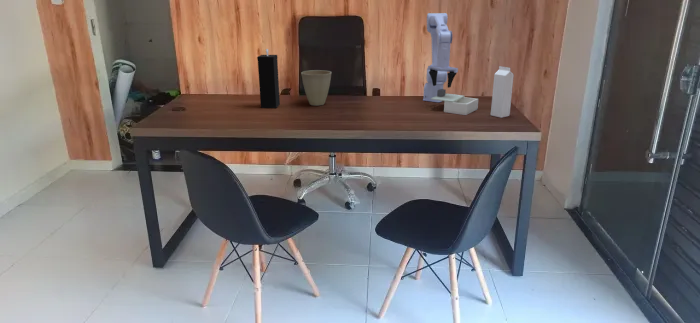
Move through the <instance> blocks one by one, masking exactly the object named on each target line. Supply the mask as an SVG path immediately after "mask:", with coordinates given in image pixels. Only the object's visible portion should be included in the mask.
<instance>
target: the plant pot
mask: <svg viewBox="0 0 700 323" xmlns="http://www.w3.org/2000/svg"><path fill="white" fill-rule="evenodd" d="M301 78H302V80H301V81H302V84H303V87H304V92H305V95H306V98H307V101H308V103H309V105H311V106H323V105H324V104H326V100H327V96H328V95H329V90H330V85H331V78H332V71H330V70H320V69H314V70H313V69H312V70H304V71H302V72H301Z"/></svg>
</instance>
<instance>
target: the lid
mask: <svg viewBox="0 0 700 323" xmlns="http://www.w3.org/2000/svg"><path fill="white" fill-rule="evenodd" d="M446 91H447V90H446V89H444V88H443V89H440V90H437V96H435V97H433V98H431V100H439V101H442V102H445V101H446V102H454V101H457V100H459V99H461V98H463V97H465V96H466V95H461V94H460V95H459V94H454V93H453V94H452V93H447V92H446Z"/></svg>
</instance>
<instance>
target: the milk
mask: <svg viewBox="0 0 700 323" xmlns="http://www.w3.org/2000/svg"><path fill="white" fill-rule="evenodd" d="M513 85H514V73H513V72H512V71H511V67H506V66H501V65H499V66H498V70H497V71H496V72H495V73H494V76H493V86H492V97H491V105H490V106H491V107H490V108H491V109H490V116H493V117H496V118H501V119H502V118H505V117H509V116H510V115H511V103H512V95H513V94H512V93H513Z"/></svg>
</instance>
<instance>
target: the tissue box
mask: <svg viewBox="0 0 700 323" xmlns="http://www.w3.org/2000/svg"><path fill="white" fill-rule="evenodd" d="M265 52H266V54H260V55H258V56H257V57H256V59H257V68H258V69H257V70H258V83H259V97H260V98H259V99H260V102H259V103H260V108H261V109H277V108H278V107H279V106H280V104H281V103H280V102H281V100H280V84H279V83H280V82H279V65H278V64H279V63H278V58H279V57H278V54H269V48H266V49H265Z"/></svg>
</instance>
